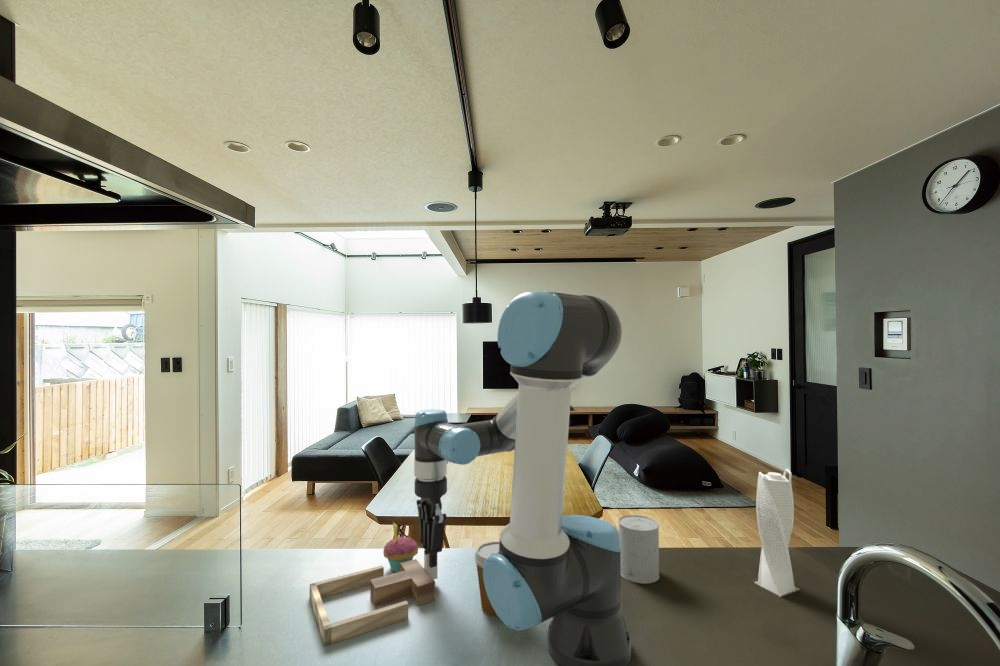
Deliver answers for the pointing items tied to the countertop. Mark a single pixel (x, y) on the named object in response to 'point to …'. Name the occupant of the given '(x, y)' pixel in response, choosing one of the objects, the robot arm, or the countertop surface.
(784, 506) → the skyscraper
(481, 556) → the disposable coffee cup
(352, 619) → the bay
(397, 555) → the cupcake
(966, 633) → the countertop surface
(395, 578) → the t block
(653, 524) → the white marble cylinder
